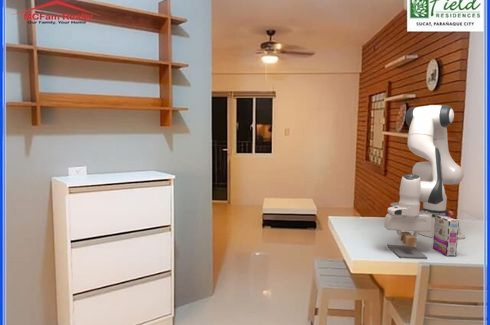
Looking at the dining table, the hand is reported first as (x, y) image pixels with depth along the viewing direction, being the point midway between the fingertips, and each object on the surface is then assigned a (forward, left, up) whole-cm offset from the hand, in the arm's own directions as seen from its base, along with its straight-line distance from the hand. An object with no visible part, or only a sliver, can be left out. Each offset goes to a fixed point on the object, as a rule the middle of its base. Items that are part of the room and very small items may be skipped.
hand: (406, 240), depth 173 cm
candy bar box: (-18, -2, -6) cm, 19 cm away
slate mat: (0, 0, -6) cm, 6 cm away
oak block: (0, +5, +1) cm, 6 cm away
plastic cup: (-16, -54, -6) cm, 57 cm away
